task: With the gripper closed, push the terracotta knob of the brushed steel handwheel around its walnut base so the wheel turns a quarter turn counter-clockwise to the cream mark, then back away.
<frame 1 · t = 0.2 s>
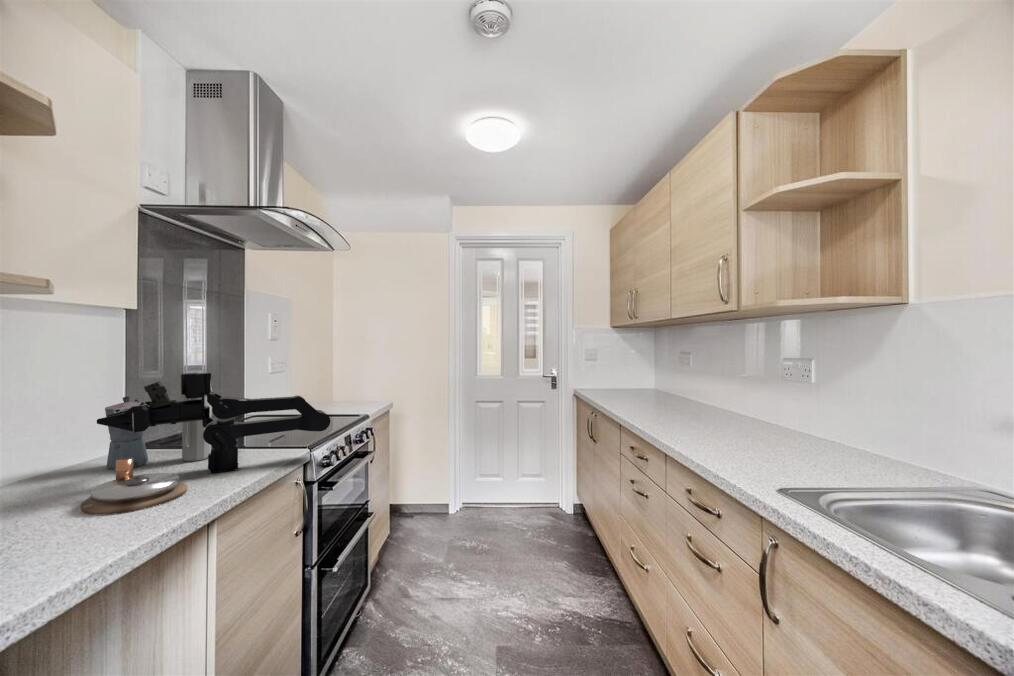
hand: (102, 419, 104), 16 cm above the countertop, tool horizontal, fingers open, 9 cm apart
handwheel: (136, 477, 96), point 5 cm above the countertop, hinge at 0.0°
water bottle: (194, 460, 127), on the countertop
wheel base: (137, 498, 95), on the countertop
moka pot: (127, 465, 121), on the countertop
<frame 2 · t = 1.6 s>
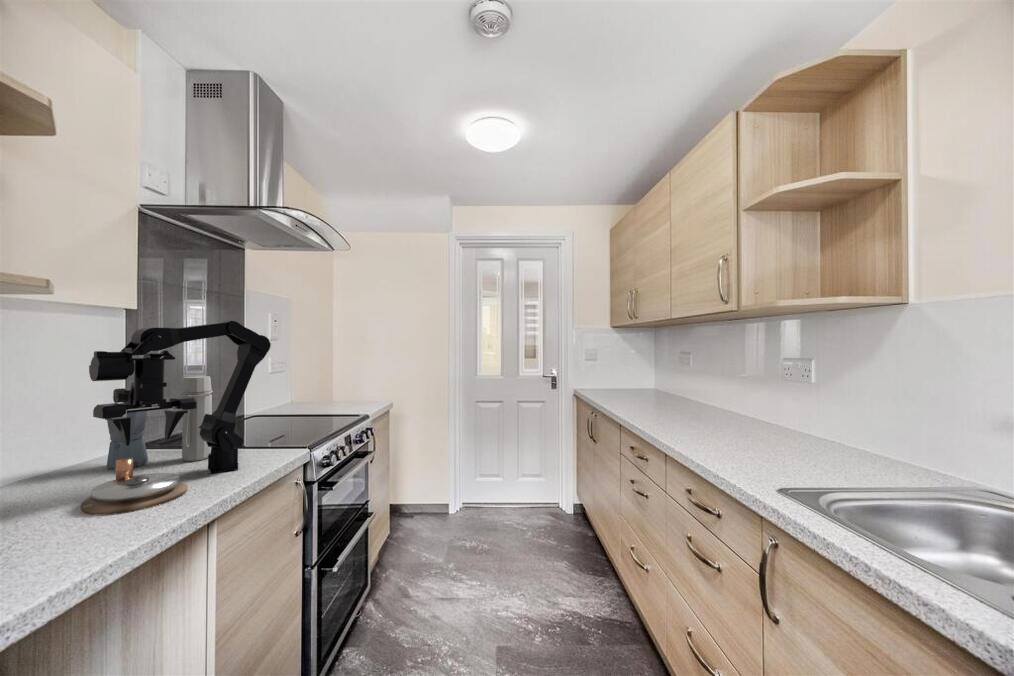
hand: (147, 442, 102), 11 cm above the countertop, tool pointing down, fingers open, 8 cm apart
nothing on the countertop moved.
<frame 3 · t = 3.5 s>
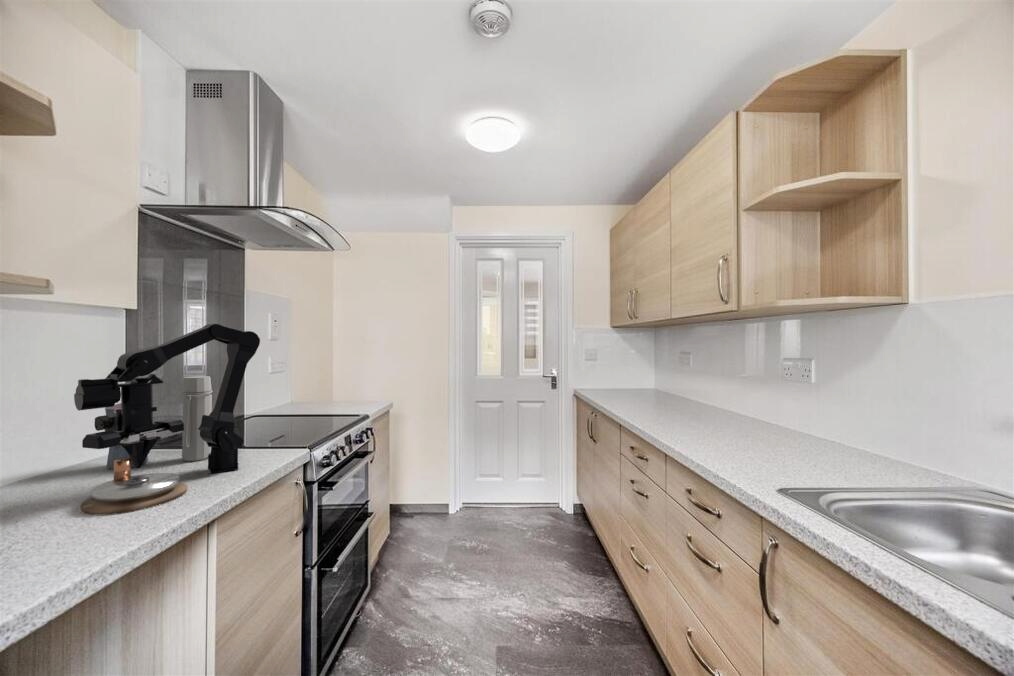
hand: (138, 468, 101), 5 cm above the countertop, tool pointing down, fingers closed
handwheel: (136, 477, 95), point 5 cm above the countertop, hinge at 3.3°, touching gripper
everything else where it was.
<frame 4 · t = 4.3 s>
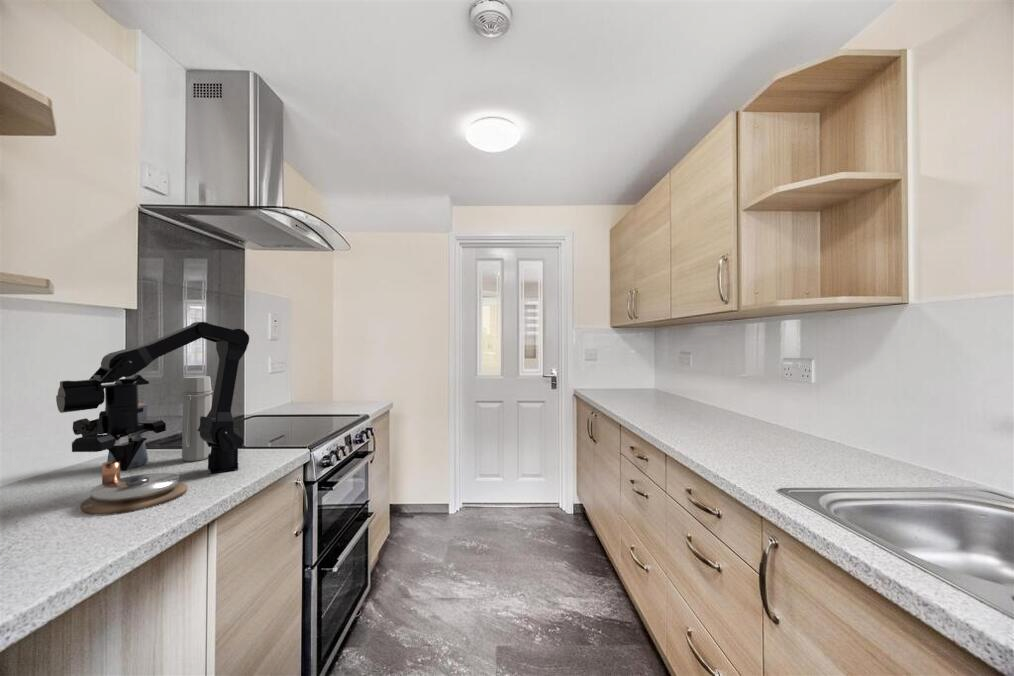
hand: (123, 470, 99), 5 cm above the countertop, tool pointing down, fingers closed
handwheel: (136, 477, 95), point 5 cm above the countertop, hinge at 23.5°, touching gripper
everything else where it was.
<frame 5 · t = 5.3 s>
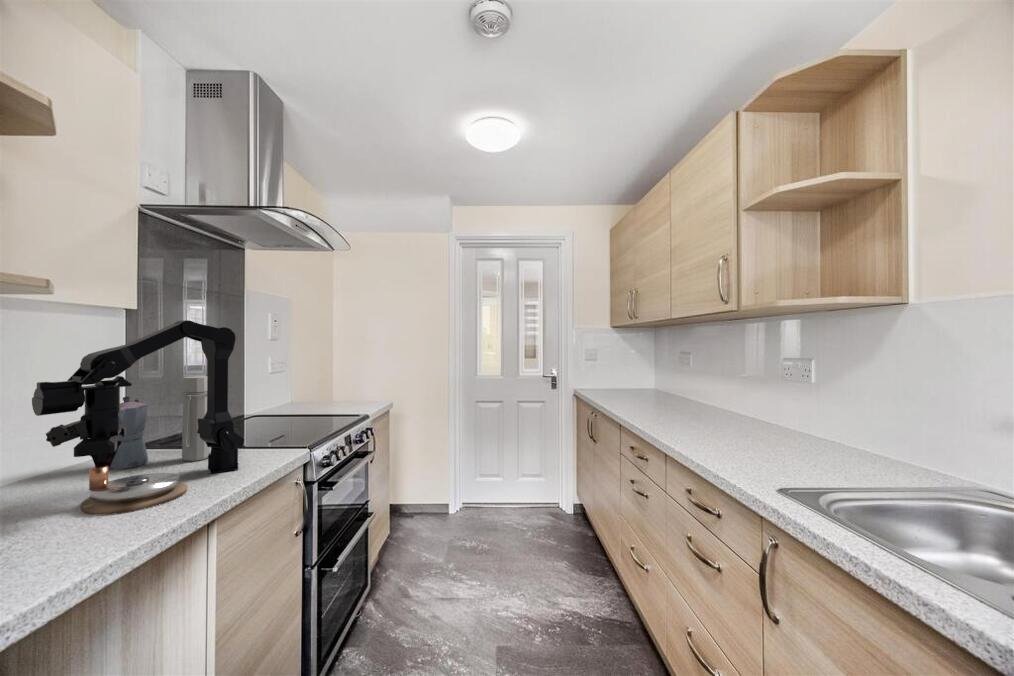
hand: (102, 476, 95), 5 cm above the countertop, tool pointing down, fingers closed
handwheel: (136, 478, 95), point 5 cm above the countertop, hinge at 58.3°, touching gripper
everything else where it was.
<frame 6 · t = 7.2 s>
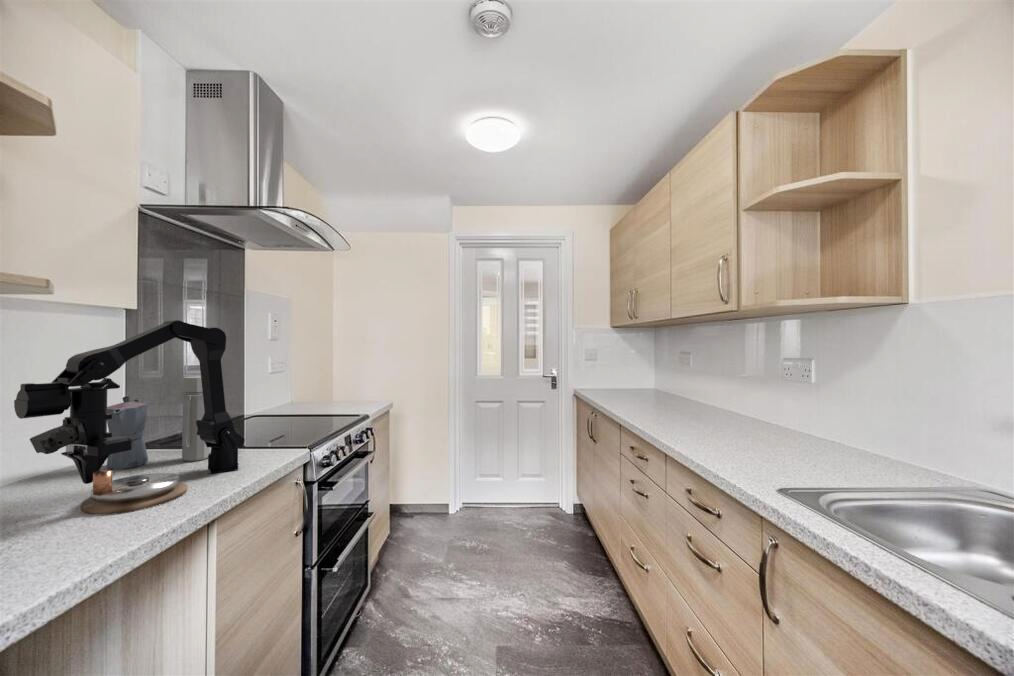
hand: (87, 483, 91), 5 cm above the countertop, tool pointing down, fingers closed
handwheel: (136, 478, 95), point 5 cm above the countertop, hinge at 100.5°
everything else where it was.
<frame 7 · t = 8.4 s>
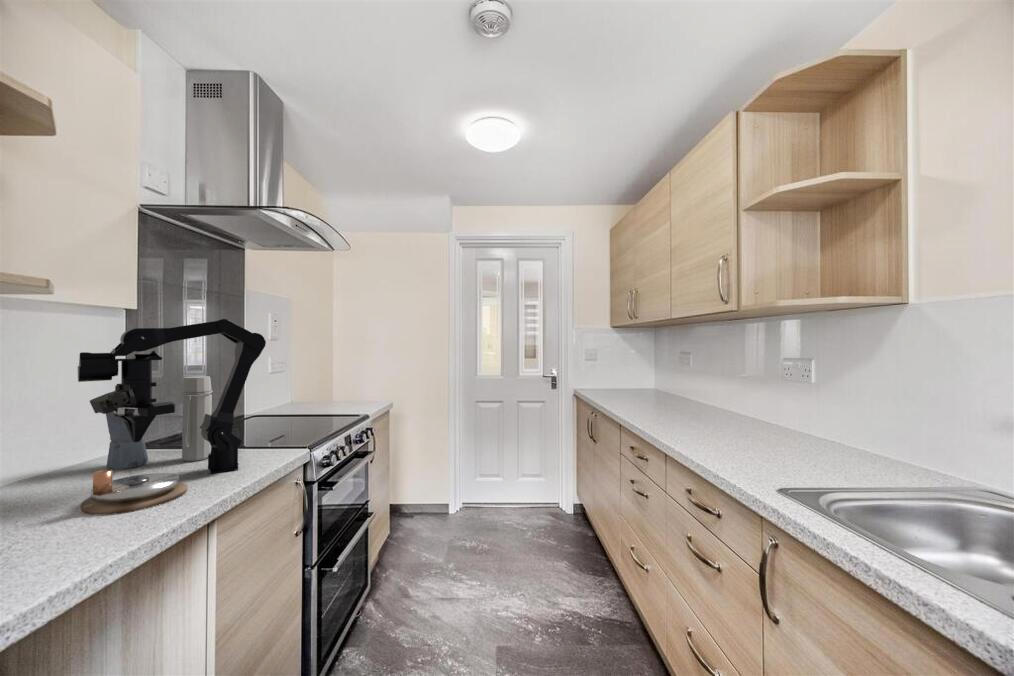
hand: (136, 442, 104), 11 cm above the countertop, tool pointing down, fingers closed
nothing on the countertop moved.
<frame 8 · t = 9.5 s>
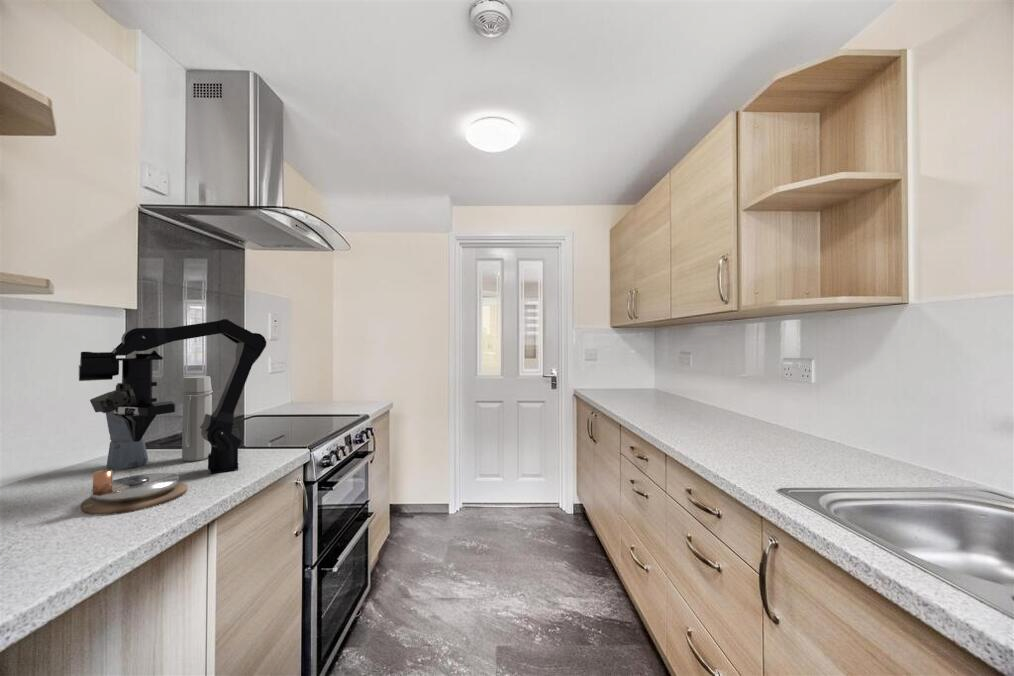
hand: (136, 441, 104), 11 cm above the countertop, tool pointing down, fingers closed
nothing on the countertop moved.
at the end: handwheel at +100° (first picture: +0°) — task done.
